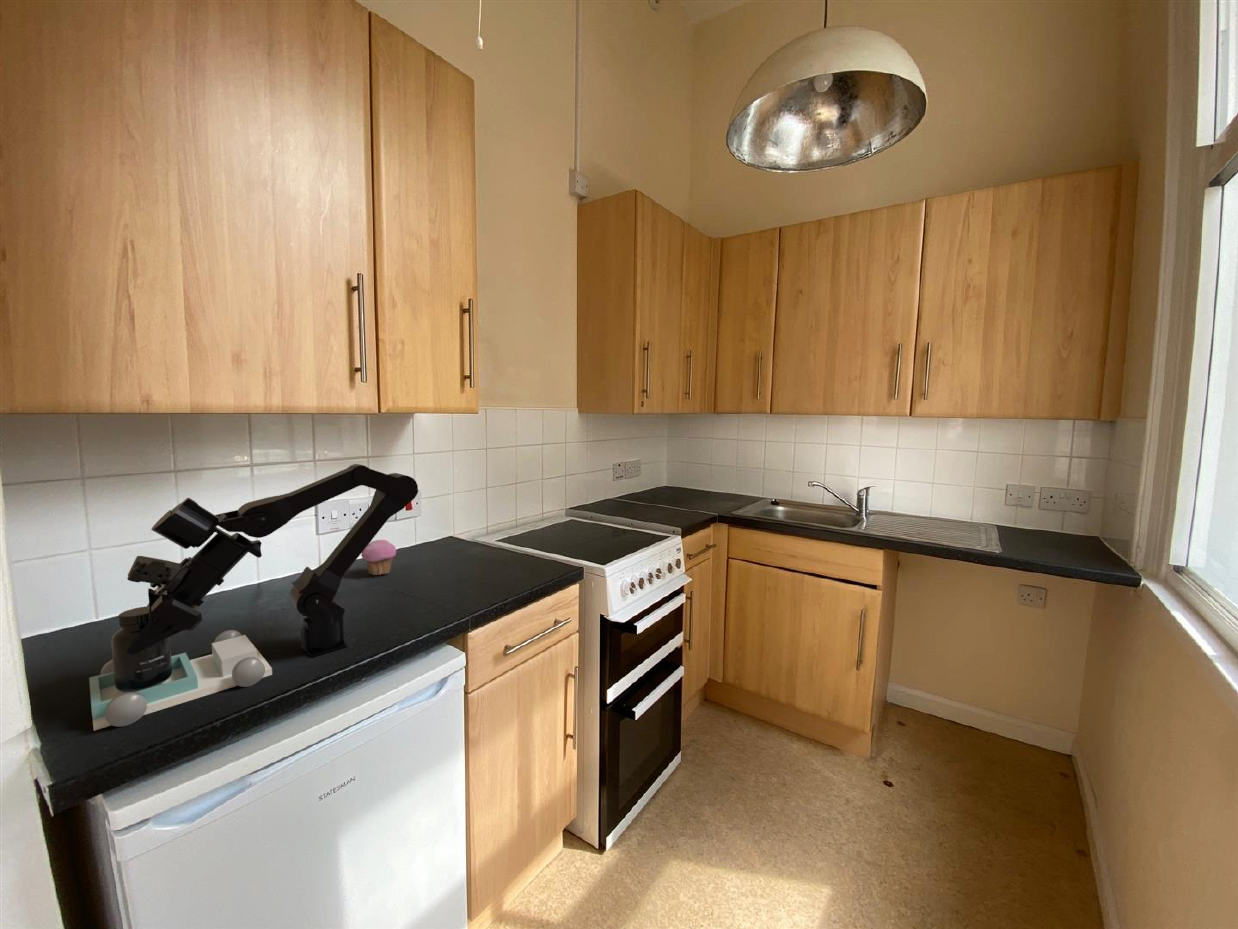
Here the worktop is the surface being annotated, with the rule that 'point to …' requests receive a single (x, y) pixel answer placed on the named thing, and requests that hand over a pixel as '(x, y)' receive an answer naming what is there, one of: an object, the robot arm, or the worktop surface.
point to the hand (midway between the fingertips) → (129, 645)
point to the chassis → (179, 681)
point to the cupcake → (379, 556)
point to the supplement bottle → (138, 655)
